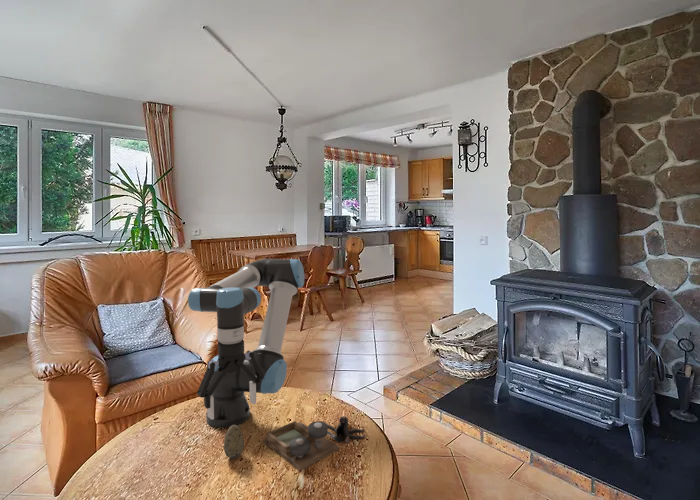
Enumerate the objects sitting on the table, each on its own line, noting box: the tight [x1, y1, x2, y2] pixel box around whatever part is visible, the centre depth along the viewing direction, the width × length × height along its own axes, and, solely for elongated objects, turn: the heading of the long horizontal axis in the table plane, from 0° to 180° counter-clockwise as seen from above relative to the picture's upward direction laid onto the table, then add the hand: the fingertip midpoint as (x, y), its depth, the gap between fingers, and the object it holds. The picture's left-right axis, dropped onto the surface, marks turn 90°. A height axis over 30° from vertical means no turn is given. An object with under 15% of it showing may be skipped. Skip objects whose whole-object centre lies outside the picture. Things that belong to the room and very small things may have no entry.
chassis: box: [262, 420, 340, 471], centre depth 125 cm, size 20×15×6 cm
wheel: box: [307, 420, 329, 438], centre depth 122 cm, size 6×6×3 cm
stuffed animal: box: [327, 415, 366, 444], centre depth 133 cm, size 12×10×12 cm
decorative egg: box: [223, 425, 245, 460], centre depth 119 cm, size 6×6×10 cm
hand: (232, 410), depth 118 cm, fingers open, 13 cm apart
